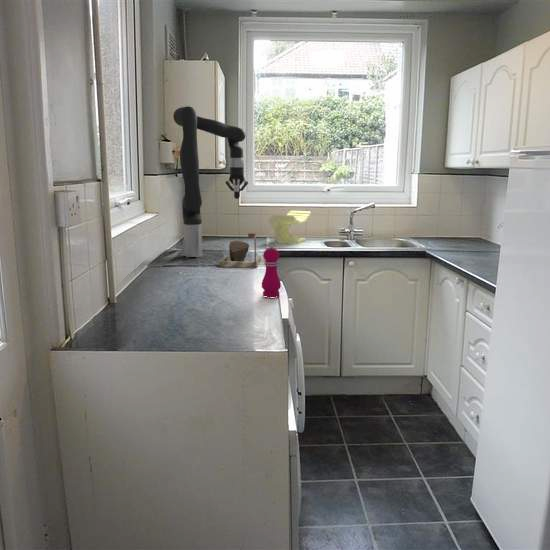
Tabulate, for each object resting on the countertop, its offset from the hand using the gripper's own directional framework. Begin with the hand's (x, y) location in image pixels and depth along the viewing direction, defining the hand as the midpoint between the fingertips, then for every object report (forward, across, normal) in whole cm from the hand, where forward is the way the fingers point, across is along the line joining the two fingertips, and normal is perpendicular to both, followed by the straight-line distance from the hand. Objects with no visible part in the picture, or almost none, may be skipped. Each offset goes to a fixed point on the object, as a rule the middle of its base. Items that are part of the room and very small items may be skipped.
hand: (237, 198), depth 283 cm
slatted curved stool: (+29, +27, +36) cm, 54 cm away
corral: (+29, +8, -35) cm, 46 cm away
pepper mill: (+29, +30, -94) cm, 103 cm away
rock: (+29, +6, -32) cm, 44 cm away
